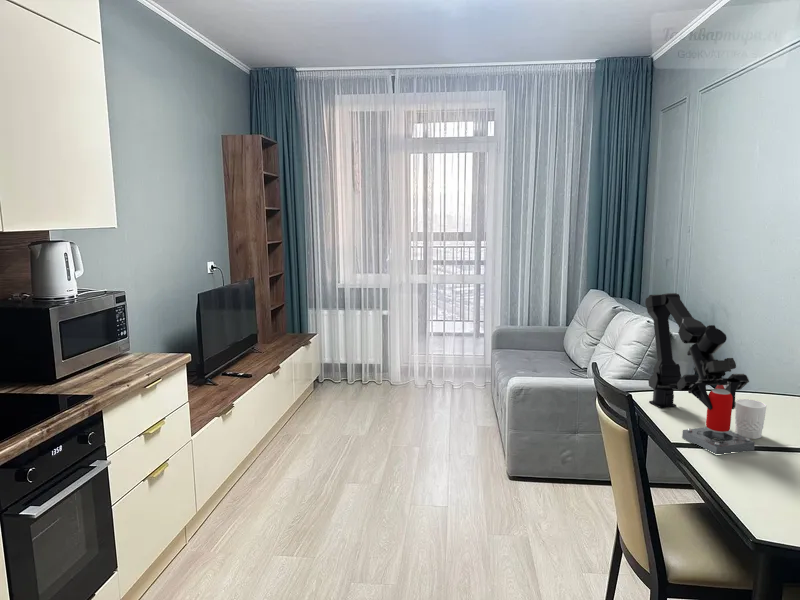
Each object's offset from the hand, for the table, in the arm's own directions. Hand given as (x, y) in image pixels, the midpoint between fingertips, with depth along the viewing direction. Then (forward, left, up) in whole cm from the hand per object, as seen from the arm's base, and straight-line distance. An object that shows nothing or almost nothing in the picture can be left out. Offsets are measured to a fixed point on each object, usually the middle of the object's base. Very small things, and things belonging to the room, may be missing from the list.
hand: (722, 409), depth 162 cm
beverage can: (-1, 0, -7) cm, 7 cm away
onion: (-31, +31, -11) cm, 46 cm away
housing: (-1, 0, -11) cm, 11 cm away
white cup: (-4, +15, -11) cm, 19 cm away
